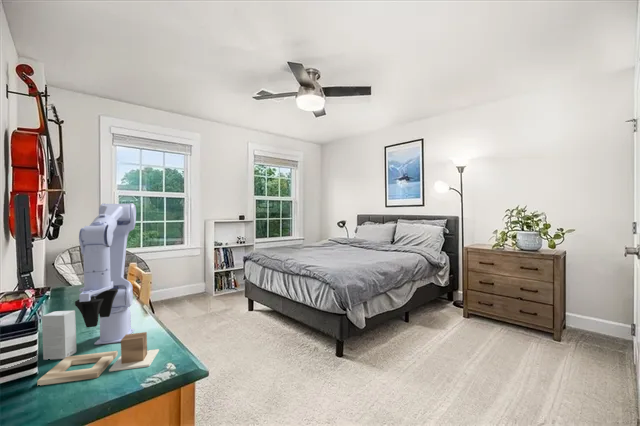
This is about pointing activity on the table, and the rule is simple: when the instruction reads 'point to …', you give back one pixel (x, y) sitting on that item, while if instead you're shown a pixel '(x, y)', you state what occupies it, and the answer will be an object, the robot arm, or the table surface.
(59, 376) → the board
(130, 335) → the walnut block
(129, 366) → the tile
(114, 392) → the table surface
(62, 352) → the skincare box
